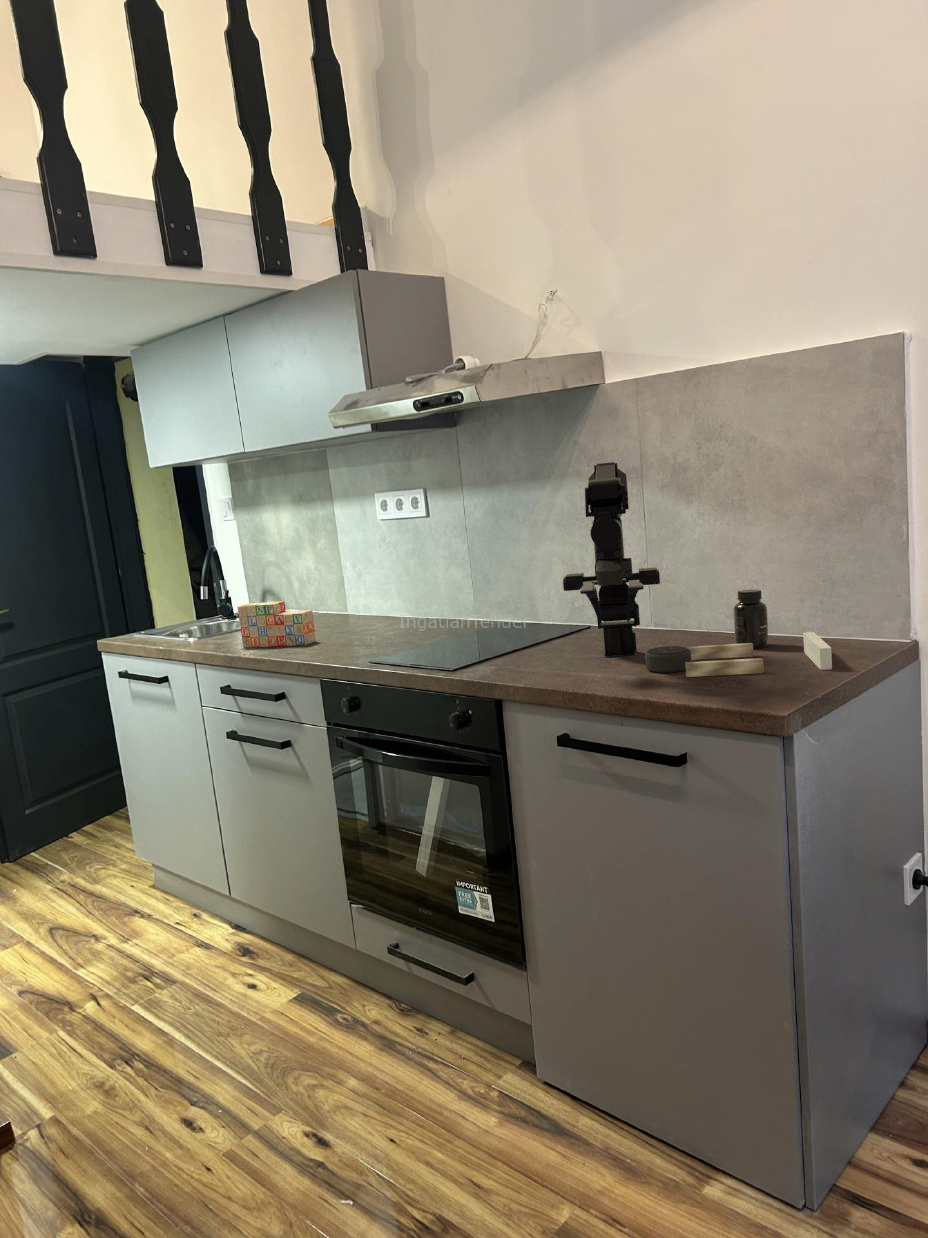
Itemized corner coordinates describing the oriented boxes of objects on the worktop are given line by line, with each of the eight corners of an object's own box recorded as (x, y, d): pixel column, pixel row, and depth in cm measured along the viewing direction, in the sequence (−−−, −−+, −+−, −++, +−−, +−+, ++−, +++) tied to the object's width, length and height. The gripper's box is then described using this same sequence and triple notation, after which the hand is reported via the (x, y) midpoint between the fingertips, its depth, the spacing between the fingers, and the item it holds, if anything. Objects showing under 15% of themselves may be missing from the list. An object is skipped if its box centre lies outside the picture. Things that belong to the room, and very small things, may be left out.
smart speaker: (698, 665, 181) (697, 645, 180) (682, 675, 174) (680, 654, 173) (656, 664, 186) (655, 645, 186) (639, 673, 179) (637, 653, 178)
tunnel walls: (686, 677, 171) (685, 664, 171) (682, 659, 188) (681, 647, 187) (763, 672, 168) (763, 659, 168) (752, 655, 185) (751, 643, 184)
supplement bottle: (770, 648, 190) (767, 591, 188) (736, 650, 191) (733, 594, 190) (766, 642, 196) (763, 587, 195) (734, 644, 198) (731, 589, 196)
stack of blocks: (316, 641, 261) (311, 599, 259) (305, 645, 255) (299, 602, 254) (254, 643, 269) (249, 602, 268) (242, 647, 264) (236, 605, 262)
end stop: (820, 669, 166) (819, 648, 166) (804, 652, 183) (803, 632, 182) (832, 669, 166) (831, 647, 165) (814, 651, 182) (813, 631, 182)
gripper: (557, 551, 172) (564, 632, 175) (657, 543, 169) (663, 625, 171) (562, 546, 183) (568, 622, 185) (656, 539, 179) (661, 616, 182)
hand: (614, 622), depth 181 cm, fingers open, 5 cm apart
